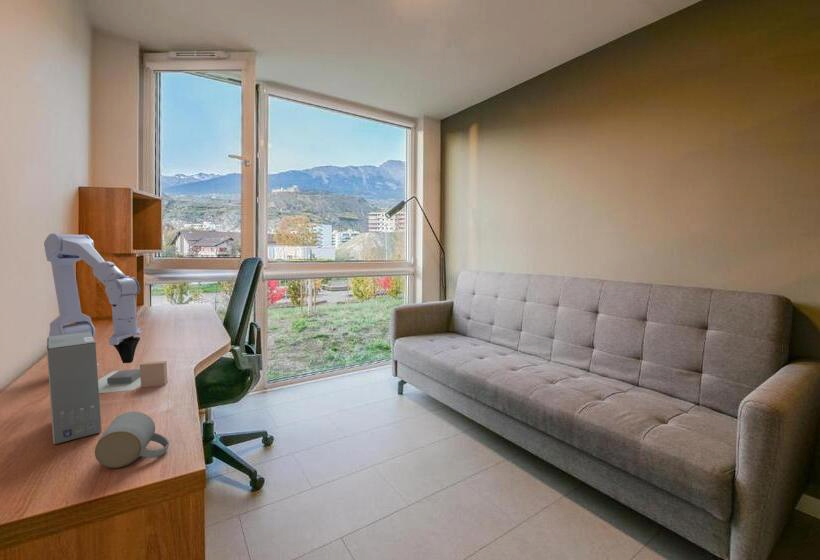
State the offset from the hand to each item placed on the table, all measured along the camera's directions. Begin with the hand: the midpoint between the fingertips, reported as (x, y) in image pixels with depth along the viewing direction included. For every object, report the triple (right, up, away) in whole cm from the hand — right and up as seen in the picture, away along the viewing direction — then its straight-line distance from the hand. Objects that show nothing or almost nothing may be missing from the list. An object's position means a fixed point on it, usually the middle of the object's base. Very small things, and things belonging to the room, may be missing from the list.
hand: (127, 362), depth 112 cm
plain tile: (+12, -6, -5) cm, 14 cm away
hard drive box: (+11, -8, -29) cm, 32 cm away
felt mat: (-1, -5, -1) cm, 6 cm away
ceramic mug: (+33, -9, -41) cm, 53 cm away
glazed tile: (0, -4, +2) cm, 4 cm away
